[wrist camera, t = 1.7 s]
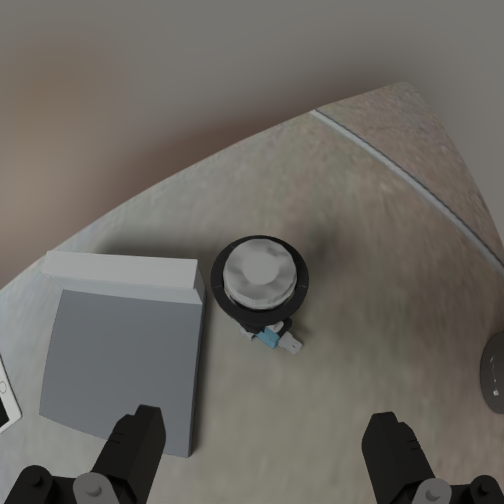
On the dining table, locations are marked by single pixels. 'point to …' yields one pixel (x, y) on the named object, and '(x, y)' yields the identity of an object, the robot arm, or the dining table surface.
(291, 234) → the dining table surface
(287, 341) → the push button
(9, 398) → the cell phone
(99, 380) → the mounting board
